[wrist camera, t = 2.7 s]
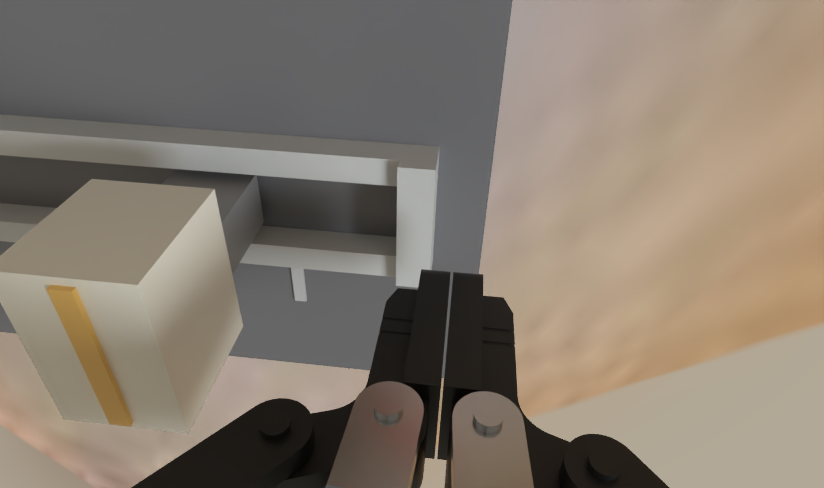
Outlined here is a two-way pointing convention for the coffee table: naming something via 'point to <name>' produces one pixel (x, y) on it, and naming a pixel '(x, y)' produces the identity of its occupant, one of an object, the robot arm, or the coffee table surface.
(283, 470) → the robot arm
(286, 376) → the coffee table surface
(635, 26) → the coffee table surface
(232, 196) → the fader
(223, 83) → the console
